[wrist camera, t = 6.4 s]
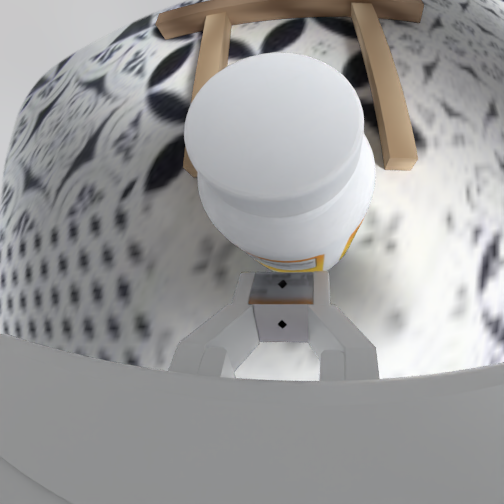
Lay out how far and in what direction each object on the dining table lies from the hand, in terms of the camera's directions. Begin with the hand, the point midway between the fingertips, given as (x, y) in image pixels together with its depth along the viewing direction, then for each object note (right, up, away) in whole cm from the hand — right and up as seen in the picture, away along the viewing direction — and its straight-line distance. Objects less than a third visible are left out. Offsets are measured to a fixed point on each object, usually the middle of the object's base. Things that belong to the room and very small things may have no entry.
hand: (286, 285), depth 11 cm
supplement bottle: (+1, +2, +5) cm, 6 cm away
